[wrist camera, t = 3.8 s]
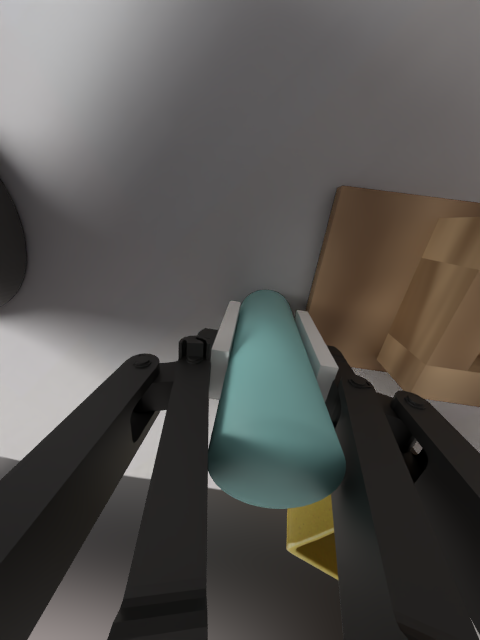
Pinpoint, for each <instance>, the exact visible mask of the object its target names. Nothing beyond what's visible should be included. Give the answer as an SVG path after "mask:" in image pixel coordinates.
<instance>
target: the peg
mask: <svg viewBox="0 0 480 640" xmlns="http://www.w3.org/2000/svg"><path fill="white" fill-rule="evenodd" d="M208 471H209V474H210V476H211V478H212V479H213V481H214V482H215V483H216V484H217V486H219V487H220V488H221V489H222V490H223V491H225V492H226V493H227V494H229V495H230V496H232V497H234V498H236V499H238V500H240V501H242V502H245V503H247V504H251V505H254V506H259V507H265V508H274V509H275V508H276V509H288V508H296V507H302V506H306V505H309V504H312V503H315V502H318V501H320V500H322V499H324V498H325V497H327V496H328V495H330V494H331V493H332V492H333V491H335V490H336V489H337V487H338V486H339V485H340V484H341V482H342V480H343V478H344V476H345V472H346V460H345V456H344V453H343V451H342V448H341V445H340V443H339V440H338V437H337V434H336V432H335V429H334V426H333V423H332V421H331V418H330V415H329V412H328V410H327V407H326V404H325V402H324V399H323V396H322V393H321V391H320V388H319V385H318V382H317V380H316V377H315V374H314V371H313V369H312V366H311V363H310V361H309V358H308V355H307V352H306V350H305V347H304V344H303V341H302V339H301V336H300V333H299V330H298V328H297V325H296V322H295V320H294V317H293V314H292V311H291V309H290V306H289V304H288V302H287V300H286V299H285V298H284V297H283V296H282V295H281V294H279V293H277V292H275V291H272V290H259V291H256V292H253V293H252V294H250V295H249V296H247V297H246V298H245V300H244V301H243V303H242V305H241V307H240V311H239V317H238V322H237V326H236V331H235V335H234V340H233V344H232V349H231V353H230V358H229V362H228V367H227V370H226V373H225V378H224V382H223V387H222V391H221V396H220V400H219V404H218V409H217V413H216V418H215V422H214V427H213V431H212V435H211V440H210V444H209V449H208Z"/></svg>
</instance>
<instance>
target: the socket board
mask: <svg viewBox="0 0 480 640" xmlns="http://www.w3.org/2000/svg"><path fill="white" fill-rule="evenodd" d="M305 311H308V313H309V315H310V317H311V318H312V320H313V322H314V324H315V326H316V328H317V329H318V331H319V333H320V335H321V337H322V338H323V340H324V342H325V344H326V345H329V346H334V347H336V348H337V349H338V350H339V351H341V353H342V354H343V356H344V358H345V359H346V361H347V363H348V364H349V365H350V367H355V368H362V369H369V370H376V371H382V372H388V373H389V374H390V376H391V377H392V378H393V379H394V380H395V381H396V383H397V384H398V385H399V386H400V387H401V388H402V389H403V391H407V392H412V393H414V394H417V395H419V396H420V397H421V398H423V399H429V400H436V401H443V402H450V403H456V404H463V405H470V406H476V407H480V203H476V202H469V201H461V200H453V199H445V198H437V197H429V196H421V195H413V194H405V193H397V192H389V191H381V190H373V189H365V188H358V187H350V186H341V187H339V188H337V190H336V194H335V198H334V202H333V206H332V210H331V214H330V217H329V221H328V225H327V229H326V233H325V237H324V241H323V244H322V248H321V252H320V256H319V260H318V264H317V268H316V271H315V275H314V279H313V283H312V287H311V291H310V295H309V298H308V302H307V306H306V310H305Z"/></svg>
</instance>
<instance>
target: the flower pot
mask: <svg viewBox="0 0 480 640" xmlns="http://www.w3.org/2000/svg"><path fill="white" fill-rule="evenodd" d="M287 550H288V551H289V552H291V553H292V554H293V555H295V556H297V557H299V558H300V559H302V560H304V561H306V562H308V563H309V564H311V565H313V566H315V567H316V568H318V569H320V570H322V571H323V572H325V573H327V574H329V575H330V576H332V577H334V578H336V579H337V580H338V569H337V558H336V546H335V535H334V523H333V512H332V500H331V494H330V495H328V496H327V497H325V498H324V499H322V500H320V501H318V502H315V503H312V504H309V505H306V506H302V507H296V508H288V509H287Z"/></svg>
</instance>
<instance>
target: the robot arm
mask: <svg viewBox="0 0 480 640" xmlns="http://www.w3.org/2000/svg"><path fill="white" fill-rule="evenodd" d="M25 269H26V245H25V239H24V234H23V230H22V226H21V223H20V220H19V217H18V214H17V211H16V209H15V207H14V204H13V202H12V200H11V198H10V196H9V194H8V192H7V190H6V188H5V186H4V185H3V183H2V181H1V180H0V306H2V305H4V304H5V303H7V302H8V301H9V300H10V299H11V298H12V297H13V296H14V295H15V294H16V293H17V291H18V290H19V288H20V286H21V284H22V281H23V278H24V274H25ZM240 304H241V302H237V301H230V302H229V304H228V307H227V310H226V312H225V315H224V318H223V320H222V323H221V325H220V328H219V330H213V329H206V328H205V329H203V330H201V331H200V332H199V333H198V335H197V336H188V337H184V338H183V339H181V340H180V341H179V359H178V361H176V362H170V363H159V359H158V357H156V356H155V355H152V354H138V355H135V356H132V357H131V358H129V359H128V360H126V361H125V362H124V363H123V364H122V365H121V366H120V367H119V368H118V369H117V370H116V371H115V372H114V373H113V374H112V375H111V376H110V377H108V378H107V379H106V380H105V381H104V382H103V383H102V384H101V385H100V386H99V387H98V388H97V389H96V390H95V391H94V392H93V393H92V394H91V395H90V396H89V397H87V398H86V399H85V400H84V401H83V402H82V403H81V404H80V405H79V406H78V407H77V408H76V409H75V410H74V411H73V412H72V413H71V414H70V415H69V416H67V417H66V418H65V419H64V420H63V421H62V422H61V423H60V424H59V425H58V426H57V427H56V428H55V429H54V430H53V431H52V432H51V433H50V434H49V435H47V436H46V437H45V438H44V439H43V440H42V441H41V442H40V443H39V444H38V445H37V446H36V447H35V448H34V449H33V450H32V451H31V452H30V453H29V454H27V455H26V456H25V457H24V458H23V459H22V460H21V461H20V462H19V463H18V464H17V465H16V466H15V467H14V468H13V469H12V470H11V471H10V472H9V473H8V474H6V475H5V476H4V477H3V478H2V479H1V480H0V640H27V639H28V637H29V636H30V634H31V632H32V631H33V629H34V627H35V625H36V624H37V622H38V620H39V619H40V617H41V615H42V613H43V612H44V610H45V608H46V607H47V605H48V603H49V601H50V600H51V598H52V596H53V595H54V593H55V591H56V589H57V588H58V586H59V584H60V583H61V581H62V579H63V577H64V576H65V574H66V572H67V571H68V569H69V567H70V565H71V564H72V562H73V560H74V558H75V556H76V555H77V553H78V552H79V550H80V548H81V547H82V544H83V543H84V541H85V540H86V538H87V536H88V534H89V533H90V531H91V529H92V527H93V526H94V524H95V522H96V521H97V519H98V517H99V516H100V514H101V512H102V510H103V509H104V507H105V505H106V504H107V502H108V500H109V499H110V497H111V495H112V493H113V492H114V490H115V488H116V486H117V485H118V483H119V481H120V479H121V478H122V476H123V475H124V473H125V471H126V469H127V468H128V466H129V464H130V462H131V461H132V459H133V457H134V456H135V454H136V452H137V450H138V449H139V447H140V445H141V444H142V442H143V440H144V438H145V437H146V435H147V433H148V432H149V430H150V428H151V426H152V425H153V423H154V421H155V420H156V418H157V416H158V414H159V413H160V411H161V410H167V412H166V416H165V420H164V425H163V429H162V434H161V438H160V442H159V447H158V451H157V455H156V460H155V464H154V468H153V473H152V477H151V481H150V486H149V490H148V495H147V499H146V503H145V508H144V512H143V516H142V521H141V525H140V530H139V534H138V538H137V543H136V547H135V551H134V556H133V560H132V564H131V569H130V573H129V577H128V582H127V586H126V590H125V594H124V598H123V602H122V604H121V608H120V610H119V612H118V614H117V616H116V618H115V620H114V622H113V625H112V627H111V631H110V633H109V637H108V639H107V640H208V638H207V637H208V632H207V629H208V627H207V626H208V624H207V598H206V565H207V564H206V562H207V489H208V413H209V398H211V399H218V400H220V396H221V391H222V387H223V382H224V378H225V373H226V370H227V367H228V362H229V358H230V353H231V349H232V344H233V340H234V335H235V331H236V326H237V322H238V317H239V311H240ZM294 320H295V322H296V325H297V328H298V330H299V333H300V336H301V339H302V341H303V344H304V347H305V350H306V352H307V355H308V358H309V361H310V363H311V366H312V369H313V371H314V374H315V377H316V380H317V382H318V385H319V388H320V391H321V393H322V396H323V399H324V402H325V404H326V407H327V410H328V412H329V415H330V418H331V421H332V423H333V426H334V429H335V432H336V434H337V437H338V440H339V443H340V445H341V448H342V451H343V453H344V456H345V460H346V472H345V476H344V478H343V480H342V482H341V484H340V485H339V486H338V487H337V489H336V490H335V491H333V492H332V493H331V500H332V512H333V523H334V535H335V546H336V558H337V569H338V581H339V592H340V604H341V615H342V626H343V638H344V640H479V638H478V636H477V633H476V631H475V629H474V626H473V624H472V622H473V623H474V625H475V627H476V629H477V631H478V632H479V634H480V453H479V452H478V451H477V450H476V449H475V448H474V447H473V446H472V445H471V444H470V443H469V442H468V441H467V440H466V439H465V438H464V437H463V436H462V435H461V434H460V433H459V432H458V431H457V430H456V429H455V428H454V427H453V426H452V425H451V424H450V423H449V422H448V421H447V420H446V419H445V418H444V417H443V416H442V415H441V414H440V413H439V412H438V411H437V410H436V409H435V408H434V407H433V406H432V405H431V404H430V403H429V402H427V401H426V400H425V399H423V398H421V397H420V396H419V395H417V394H414V393H412V392H407V391H398V392H396V393H395V395H394V397H393V398H392V397H389V396H386V395H383V394H380V393H377V392H375V389H374V387H373V386H372V384H371V383H370V382H368V381H367V380H366V379H364V378H362V377H360V376H357V375H355V373H354V372H353V370H352V368H351V367H350V365H349V364H348V363H347V361H346V359H345V358H344V356H343V354H342V353H341V351H339V350H338V349H337V348H336V347H334V346H329V345H326V344H325V342H324V340H323V338H322V337H321V335H320V333H319V331H318V329H317V328H316V326H315V324H314V322H313V320H312V318H311V317H310V315H309V313H308V311H301V310H297V311H296V315H295V319H294ZM416 441H418V442H419V444H420V445H421V446H422V448H423V449H422V450H421V452H420V453H419V454H417V453H416V452H415V450H414V449H413V448H412V447H413V446H414V444H415V443H416ZM470 618H471V619H470ZM471 620H472V621H471Z"/></svg>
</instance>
